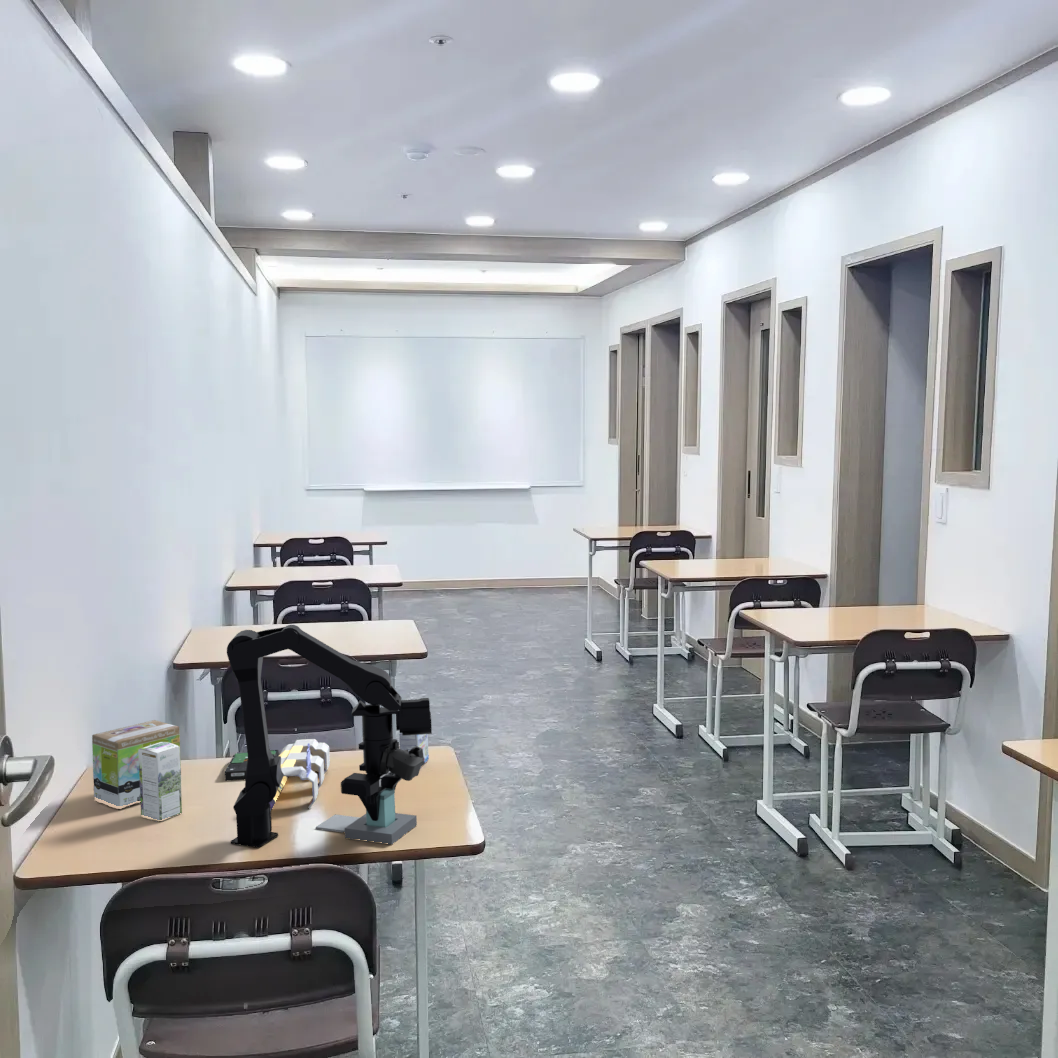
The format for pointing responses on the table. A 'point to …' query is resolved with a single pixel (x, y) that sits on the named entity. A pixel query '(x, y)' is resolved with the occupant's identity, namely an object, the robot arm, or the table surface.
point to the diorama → (304, 764)
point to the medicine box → (415, 743)
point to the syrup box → (160, 780)
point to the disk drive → (240, 766)
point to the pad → (337, 823)
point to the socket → (381, 829)
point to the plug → (384, 810)
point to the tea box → (125, 759)
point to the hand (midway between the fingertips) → (380, 816)
